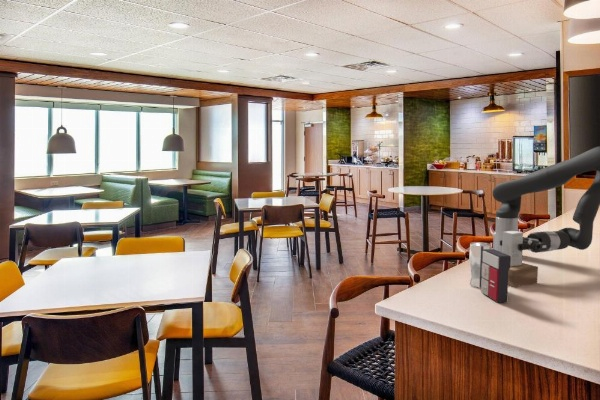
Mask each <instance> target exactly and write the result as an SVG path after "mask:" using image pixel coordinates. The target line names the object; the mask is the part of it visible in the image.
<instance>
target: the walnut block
mask: <svg viewBox="0 0 600 400" xmlns="http://www.w3.org/2000/svg"><path fill="white" fill-rule="evenodd" d="M538 274H539V266H537V265H533V264H528V263H525V262H522V265H518V266H511V267H510V269H509V270H508V287H510V286H511V287H510V288H513V287H514V288H518V286H519V287H524V286H529V285H534V284H538V277H539V275H538Z"/></svg>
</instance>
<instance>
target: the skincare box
mask: <svg viewBox="0 0 600 400" xmlns="http://www.w3.org/2000/svg"><path fill="white" fill-rule="evenodd" d="M523 237H524V232H522V231H507V232H503V238H502V253H505V254H507V255H509V256H511V263H510V267H511V266H518V265H522V263H523V250H518V244H523Z"/></svg>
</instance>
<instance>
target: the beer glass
mask: <svg viewBox="0 0 600 400" xmlns="http://www.w3.org/2000/svg"><path fill="white" fill-rule="evenodd" d="M484 249H491V244H490V243H488V242H482V241H481V242H480V241H479V242H477V241H476V242H470V244H469V268H470V276H471V277H470V280H469V286H470V285H471V286H470V287H472V286H473V287H472V288H475V287H478V288H477V289H481V279H482V263H483V250H484Z"/></svg>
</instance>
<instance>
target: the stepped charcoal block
mask: <svg viewBox="0 0 600 400" xmlns="http://www.w3.org/2000/svg"><path fill="white" fill-rule="evenodd" d="M510 263H511V256H509V255H507V254H505V253H502V252H500V251H497V250H495V249H493V248H490V249H484V250H483V263H482V279H481V288H480V292H481V293H482V294H483V293H484V294H483V295H484V296H486V295H487V297H488V296H489V297H488V298H489V299H491V298H492V299H491V300H492V301H494V300H495V302H496V301H497V302H498V304H502V303H503V304H505V303H504V302H507V303H508V293H509V292H508V288H509V286H508V270H509V269H510ZM497 302H496V303H497Z"/></svg>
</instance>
